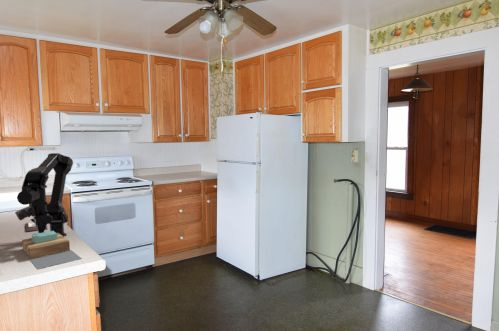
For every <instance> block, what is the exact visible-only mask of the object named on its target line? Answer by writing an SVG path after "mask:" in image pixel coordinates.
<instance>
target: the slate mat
mask: <svg viewBox="0 0 499 331" xmlns="http://www.w3.org/2000/svg"><path fill="white" fill-rule="evenodd" d="M29 260H30V262H31V263H32V264H33V266H34V267H35V269H37V270H40V269H45V268H48V267H53V266H58V265H62V264H66V263H69V262H73V261H78V260H82V257H80V256H79V254H77V253H75V251H73V250H71V249H70V251H65V252H61V253H56V254H52V255H47V256H43V257H38V258H33V259H31V258H29Z"/></svg>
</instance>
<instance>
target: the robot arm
mask: <svg viewBox="0 0 499 331" xmlns="http://www.w3.org/2000/svg"><path fill="white" fill-rule="evenodd" d="M73 160H74V159H72V158H71V157H70V156H67V155H65V154H61V153H59V152H57V153H55V152H54V153H52V152H51V153H48V154H47V157H46V158H45V159H44V160H43V161H42V162H41V163H40V164H39V165H38V166H37V167H34V168H32V169H30V170H29V171H27V172H26V174H25V177H24V179H23V182H22V186H21V191H20V192H18V194H17V197H16V199H17V202H18V203H20V204H21V205H23V206H25V207H24V208H21V209H19V210H16V211H15V215H16V218H17V219H18V220H19V221H23V220H25V219H27V218H31V219H30V221H31V223H35V224H36V227H37V230H38V231H37V234H38V233H43V232H45V228H46V226H47V227H48V225H49V231H54V232H55V233H59V234H61V235H62V236H63V237H65V236H67V233H66V232H65V225H64V224H67V223H68V221H69V216H68V214H67V213H66V211H65V207H64V205H63V196H64V191H65V187H66V186H65V184H66V180H67V175H68V174H69V173H70V172H71V170H72V167H73V165H74V161H73ZM52 170H54V179H53V185H52V190H51V195H50V196H51V197H50V201H49V202H48V201H47V197H46V196H47V195H46V189H47V188H48V186H47V185H46V184H47V182H48V181H49V178H50V176H49V174H50V172H52ZM26 205H28V206H26Z"/></svg>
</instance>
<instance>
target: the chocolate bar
mask: <svg viewBox="0 0 499 331" xmlns="http://www.w3.org/2000/svg"><path fill="white" fill-rule="evenodd" d="M24 224H25V233H31V232H32V233H33V232H38V230H37V227H36V224H35V223H33V222H26V223H24ZM45 230H46V231H47V230H48V225H47V226H46V228H45ZM45 230H44V231H45Z"/></svg>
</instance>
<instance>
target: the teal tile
mask: <svg viewBox="0 0 499 331" xmlns="http://www.w3.org/2000/svg"><path fill="white" fill-rule="evenodd" d="M31 238H32V241H33V242H34V243H35V244H37V243H42V242H47V241H52V240H57V233H55V232H54V231H50V230H49V231H46V232H45V231H44V232H43V233H38V232H37V233H33V234H31Z"/></svg>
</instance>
